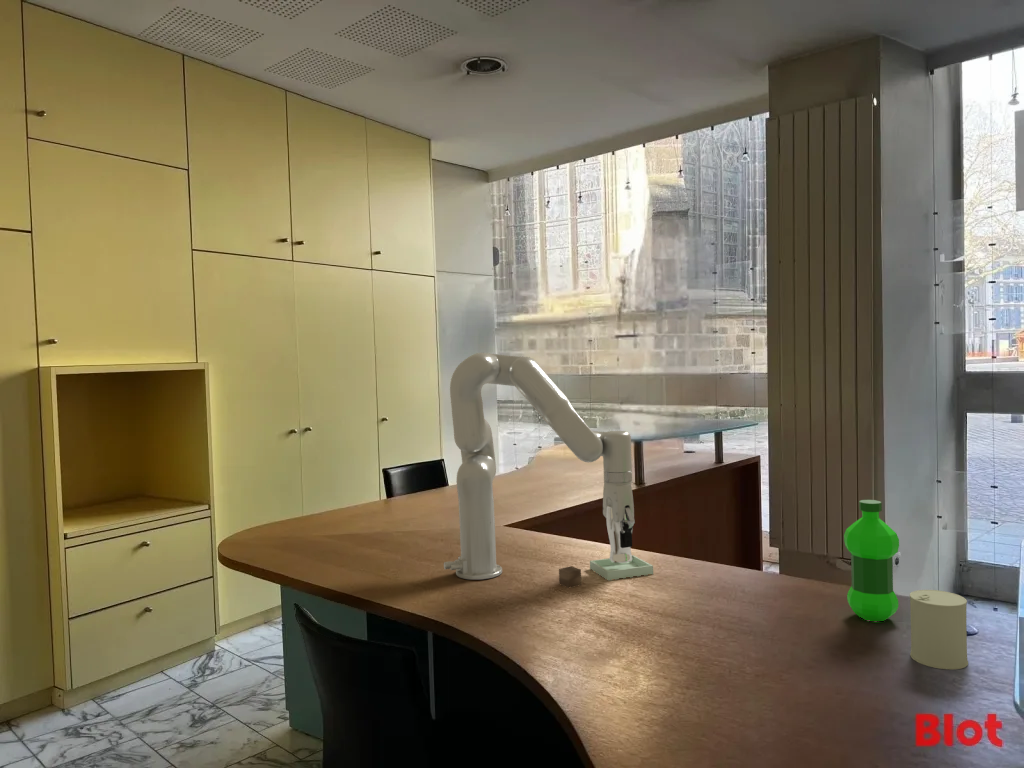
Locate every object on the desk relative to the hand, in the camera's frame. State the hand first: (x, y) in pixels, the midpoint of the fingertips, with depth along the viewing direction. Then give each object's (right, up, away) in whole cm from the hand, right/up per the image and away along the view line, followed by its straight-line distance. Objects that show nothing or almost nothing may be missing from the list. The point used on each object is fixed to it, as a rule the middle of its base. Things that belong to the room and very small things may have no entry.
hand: (620, 543), depth 196 cm
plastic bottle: (+48, -7, -40) cm, 63 cm away
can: (+50, -8, -61) cm, 79 cm away
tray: (0, -8, 0) cm, 8 cm away
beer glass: (0, -5, 0) cm, 5 cm away
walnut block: (-14, -9, -9) cm, 19 cm away
